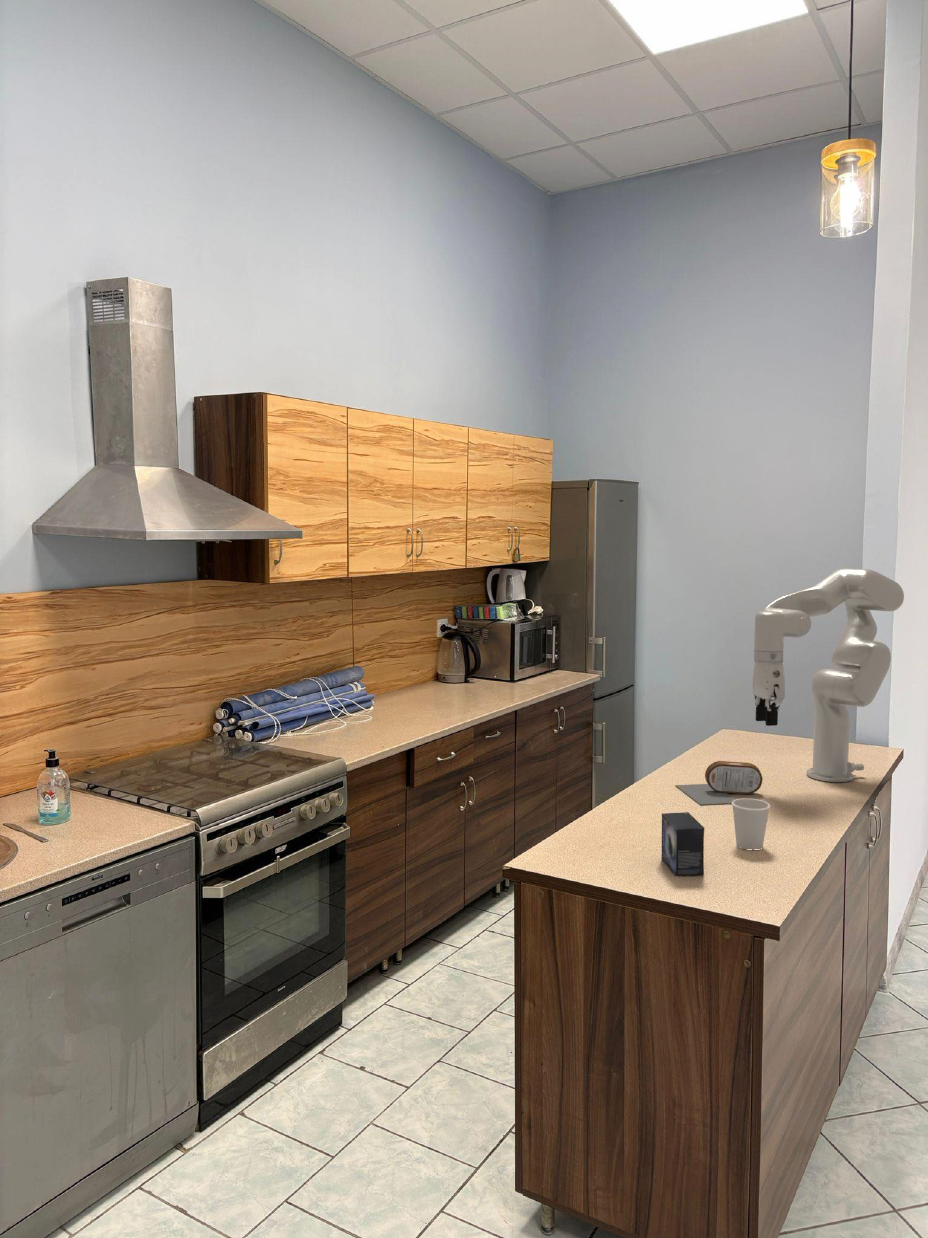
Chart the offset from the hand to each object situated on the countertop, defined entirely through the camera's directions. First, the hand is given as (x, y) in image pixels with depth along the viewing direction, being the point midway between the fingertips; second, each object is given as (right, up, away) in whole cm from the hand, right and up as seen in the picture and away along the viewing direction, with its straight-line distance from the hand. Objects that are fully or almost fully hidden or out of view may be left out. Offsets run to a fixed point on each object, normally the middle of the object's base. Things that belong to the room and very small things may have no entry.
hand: (766, 722), depth 245 cm
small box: (-36, -25, -53) cm, 69 cm away
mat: (-16, -20, 0) cm, 25 cm away
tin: (-9, -19, +1) cm, 21 cm away
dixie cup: (-17, -24, -41) cm, 50 cm away
